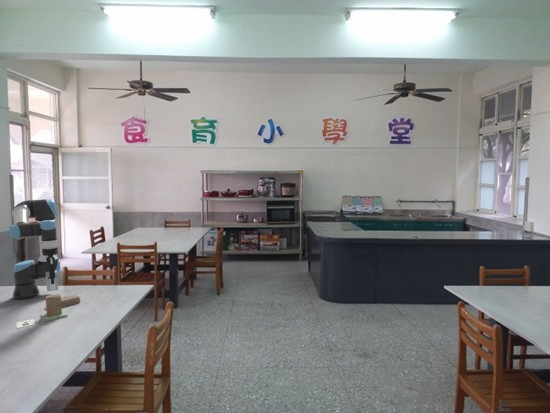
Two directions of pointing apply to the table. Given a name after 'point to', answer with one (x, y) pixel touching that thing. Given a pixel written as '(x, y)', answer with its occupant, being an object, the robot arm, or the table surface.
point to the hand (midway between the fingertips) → (52, 288)
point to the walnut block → (53, 305)
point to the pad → (46, 318)
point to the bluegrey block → (49, 281)
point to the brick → (69, 300)
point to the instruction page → (25, 323)
